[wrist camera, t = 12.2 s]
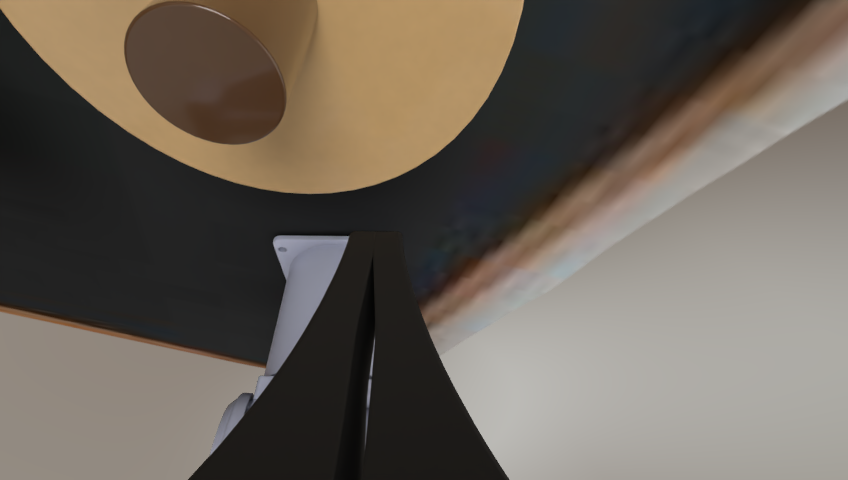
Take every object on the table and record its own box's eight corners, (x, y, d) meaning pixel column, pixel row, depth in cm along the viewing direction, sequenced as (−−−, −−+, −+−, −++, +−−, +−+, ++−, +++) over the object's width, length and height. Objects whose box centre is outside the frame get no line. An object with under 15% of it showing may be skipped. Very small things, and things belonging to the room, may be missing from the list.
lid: (480, 177, 15) (500, 289, 12) (137, 171, 15) (59, 288, 12) (607, -487, 6) (858, -805, 3) (-330, -579, 5) (-1552, -1155, 2)
